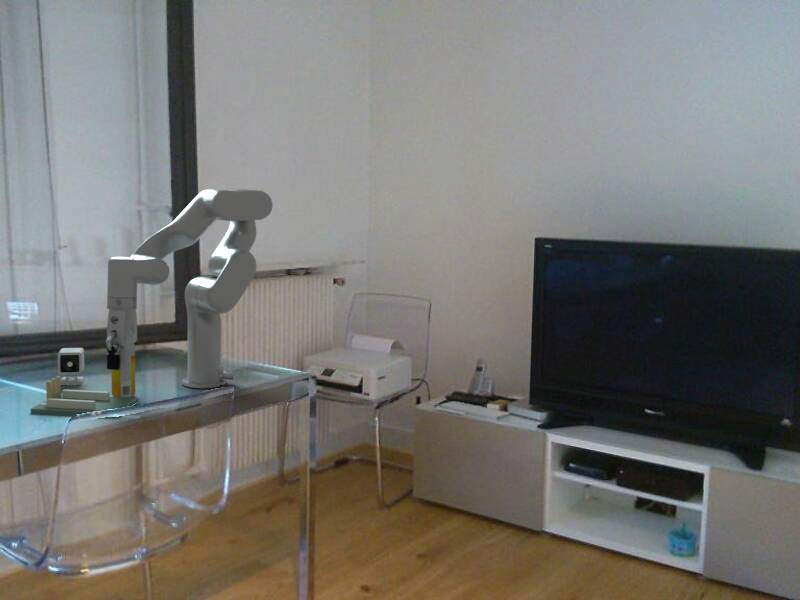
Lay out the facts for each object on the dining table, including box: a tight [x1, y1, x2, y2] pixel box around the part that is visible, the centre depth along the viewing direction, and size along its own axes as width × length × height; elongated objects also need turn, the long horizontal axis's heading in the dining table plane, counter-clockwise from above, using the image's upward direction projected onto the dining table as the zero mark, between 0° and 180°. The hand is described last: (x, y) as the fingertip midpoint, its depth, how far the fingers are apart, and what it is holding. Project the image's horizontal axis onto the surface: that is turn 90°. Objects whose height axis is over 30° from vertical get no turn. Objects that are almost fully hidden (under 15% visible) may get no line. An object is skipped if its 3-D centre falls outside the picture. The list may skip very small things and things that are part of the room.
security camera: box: [57, 347, 85, 387], centre depth 224 cm, size 6×7×10 cm
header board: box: [30, 375, 140, 417], centre depth 202 cm, size 22×14×7 cm, turn 88°
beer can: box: [111, 343, 136, 398], centre depth 213 cm, size 6×6×15 cm
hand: (120, 365), depth 212 cm, fingers open, 9 cm apart
